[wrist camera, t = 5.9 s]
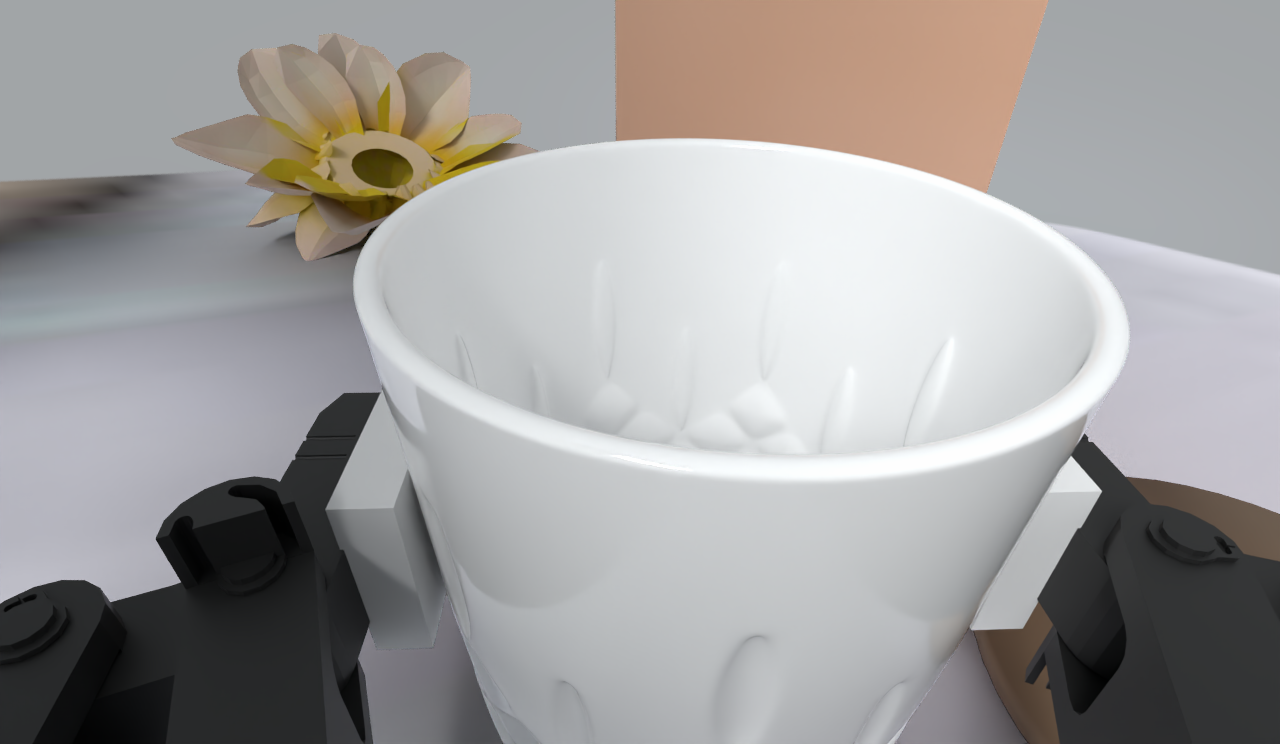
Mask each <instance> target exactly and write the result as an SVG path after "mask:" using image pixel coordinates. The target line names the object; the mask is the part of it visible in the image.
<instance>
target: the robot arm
mask: <svg viewBox="0 0 1280 744" xmlns="http://www.w3.org/2000/svg"><path fill="white" fill-rule="evenodd" d="M306 437H307V440H306V441H303V443H302V445H301V446H300V448H299V450H298V452H297V453H296V455H295V456H296V459H295V460H292V462H291V464H290V465H289V467H288V469H287V471H286V472H285V474H284V476H283V477H282V479H281V481H280V482H279V481H277V480H275V479H270V478H262V477H248V478H240V479H233V480H229V481H226V482H223V483H220V484H218V485H215V486H212V487H209V488H207V489H204V490H203V491H201V492H199V493H198V494H196V495H194V496H193V497H191V498H189V499H188V500H186V501H185V502H183V503H181V504H180V505H179V506H178V507H177V508H176V509H175V510H174V511H173V512H172V513H171V514H170V515H169V516H168V517H167V518H166V519H165V520H164V522H163V524H162V526H161V528H160V530H159V532H158V535H157V537H156V541H157V542H158V544H159V546H160V547H161V549H162V551H163V552H164V554H165V556H166V557H167V559H168V561H169V562H170V564H171V566H172V567H173V569H174V571H175V572H176V574H177V576H178V577H179V579H180V581H181V583H178V584H175V585H172V586H169V587H165V588H162V589H158V590H154V591H150V592H147V593H143V594H139V595H136V596H132V597H128V598H125V599H121V600H117V601H114V602H110V601H109V600H108V598H107V597H106V596H105V594H104V593H103V591H102V590H101V589H100V588H99V587H97V586H95V585H93V584H91V583H89V582H87V581H85V580H60V581H56V582H53V583H49V584H45V585H41V586H37V587H33V588H31V589H29V590H27V591H25V592H23V593H21V594H18V595H16V596H14V597H12V598H10V599H8V600H6V601H4V602H2V603H1V604H0V744H373V739H372V731H371V723H370V715H369V707H368V698H367V690H366V682H365V675H364V672H363V670H362V667H361V665H360V662H359V660H358V657H359V654H360V651H361V648H362V645H363V642H364V639H365V636H366V633H367V630H368V627H369V629H370V632H371V635H372V637H373V640H374V643H375V645H376V648H377V650H392V649H422V648H433V647H434V643H435V639H436V635H437V630H438V626H439V622H440V618H441V613H442V609H443V605H444V600H445V596H446V589H445V586H444V583H443V579H442V576H441V573H440V570H439V566H438V563H437V560H436V557H435V554H434V550H433V547H432V544H431V541H430V538H429V534H428V531H427V528H426V525H425V522H424V518H423V515H422V512H421V509H420V506H419V502H418V499H417V496H416V493H415V490H414V486H413V483H412V480H411V477H410V474H409V470H408V467H407V464H406V461H405V458H404V455H403V451H402V448H401V445H400V442H399V439H398V436H397V433H396V430H395V427H394V423H393V420H392V417H391V414H390V411H389V408H388V405H387V402H386V399H385V396H384V393H383V389H382V391H381V393H344V394H343V395H341V396H340V397H339V398H338V399H336V400H335V401H334V402H333V403H332V404H330V405H329V406H328V407H327V408H325V409H324V410H323V411H322V412H321V413H319V415H318V417H317V419H316V420H315V422H314V424H313V426H312V427H311V429H310V431H309V432H308V434H307V436H306ZM1038 602H1039V603H1040V605H1041V606H1042V608H1043V609H1044V611H1045V613H1046V614H1047V616H1048V617H1049V619H1050V620H1051V622H1052V623H1053V626H1052V628H1051V629H1050V631H1049V633H1048V634H1047V636H1046V638H1045V639H1044V641H1043V642H1042V644H1041V646H1040V647H1039V649H1038V650H1037V652H1036V654H1035V655H1034V657H1033V659H1032V660H1031V662H1030V663H1029V665H1028V667H1027V668H1026V675H1025V682H1026V683H1029V684H1034V683H1035V681H1036V680H1037V678H1038V677H1039V675H1040V673H1041V672H1042V670H1043V669H1044V667H1045V666H1046V665H1047V671H1048V677H1049V681H1048V683H1047V685H1046V689H1050V690H1051V695H1052V701H1053V707H1054V713H1055V719H1056V724H1057V730H1058V736H1059V742H1060V744H1280V561H1275V560H1271V559H1266V558H1261V557H1256V556H1252V555H1247V554H1243V552H1242V551H1241V550H1240V548H1239V547H1238V546H1237V545H1236V543H1235V542H1234V541H1233V540H1232V539H1230V538H1229V537H1228V536H1227V535H1225V534H1224V533H1223V532H1221V531H1220V530H1219V529H1218V528H1216V527H1215V526H1213V525H1212V524H1210V523H1208V522H1206V521H1204V520H1202V519H1200V518H1198V517H1196V516H1194V515H1193V514H1191V513H1187V512H1184V511H1181V510H1178V509H1175V508H1172V507H1169V506H1164V505H1154V504H1150V503H1149V502H1148V501H1147V500H1146V498H1145V497H1144V496H1143V495H1142V494H1141V493H1140V492H1139V491H1138V490H1137V489H1136V488H1135V487H1134V486H1133V485H1132V484H1131V482H1130V481H1129V480H1128V479H1127V478H1126V477H1125V476H1124V475H1123V474H1122V473H1121V472H1120V471H1119V470H1118V469H1117V468H1116V466H1115V465H1114V464H1113V463H1112V462H1111V461H1110V460H1109V459H1108V458H1107V457H1106V456H1105V455H1104V454H1103V453H1102V452H1101V450H1100V449H1099V448H1098V447H1097V446H1096V445H1095V444H1094V443H1093V442H1089V441H1088V437H1087V436H1086V434H1085V433H1084V435H1083V437H1082V438H1081V440H1080V442H1079V443H1078V445H1077V446H1076V448H1075V450H1074V451H1073V453H1072V455H1071V456H1070V458H1069V460H1068V461H1067V463H1066V465H1065V466H1064V468H1063V470H1062V471H1061V473H1060V475H1059V476H1058V478H1057V480H1056V481H1055V483H1054V485H1053V486H1052V488H1051V490H1050V491H1049V493H1048V495H1047V496H1046V498H1045V500H1044V501H1043V503H1042V505H1041V506H1040V508H1039V510H1038V512H1037V513H1036V515H1035V517H1034V518H1033V520H1032V522H1031V523H1030V525H1029V527H1028V528H1027V530H1026V532H1025V534H1024V535H1023V537H1022V539H1021V540H1020V542H1019V544H1018V545H1017V547H1016V549H1015V551H1014V552H1013V554H1012V556H1011V557H1010V559H1009V561H1008V562H1007V564H1006V566H1005V567H1004V569H1003V571H1002V573H1001V574H1000V576H999V578H998V579H997V581H996V583H995V584H994V586H993V588H992V590H991V591H990V593H989V595H988V596H987V598H986V600H985V601H984V603H983V605H982V606H981V608H980V610H979V612H978V613H977V615H976V617H975V618H974V620H973V622H972V623H971V625H970V629H971V630H993V629H1023V627H1024V626H1025V624H1026V622H1027V621H1028V619H1029V617H1030V615H1031V614H1032V612H1033V610H1034V608H1035V607H1036V605H1037V603H1038Z"/></svg>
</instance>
